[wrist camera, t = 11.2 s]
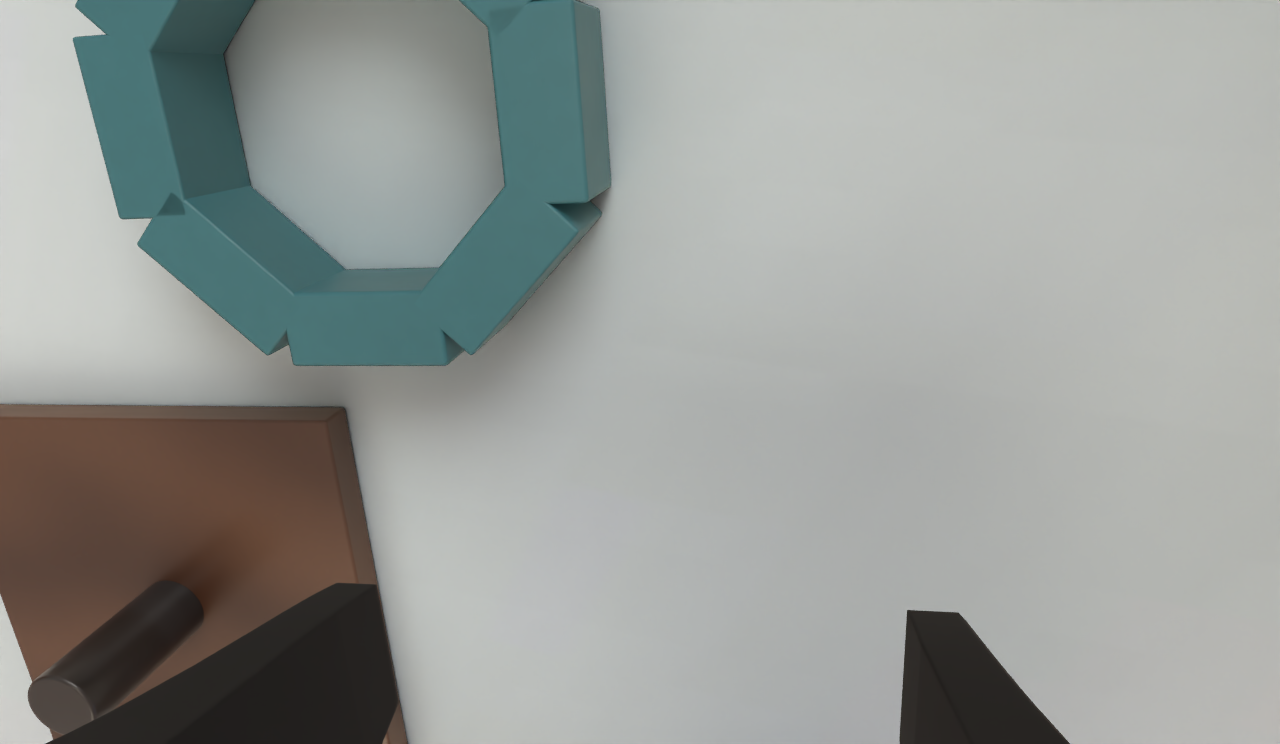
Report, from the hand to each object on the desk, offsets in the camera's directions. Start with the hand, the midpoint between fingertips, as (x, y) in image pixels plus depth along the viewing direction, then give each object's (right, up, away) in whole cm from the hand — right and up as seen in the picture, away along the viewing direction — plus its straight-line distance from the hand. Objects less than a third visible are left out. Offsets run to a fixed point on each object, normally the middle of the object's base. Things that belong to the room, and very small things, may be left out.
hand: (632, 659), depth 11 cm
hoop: (-6, +10, +8) cm, 14 cm away
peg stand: (-13, -3, +13) cm, 19 cm away
